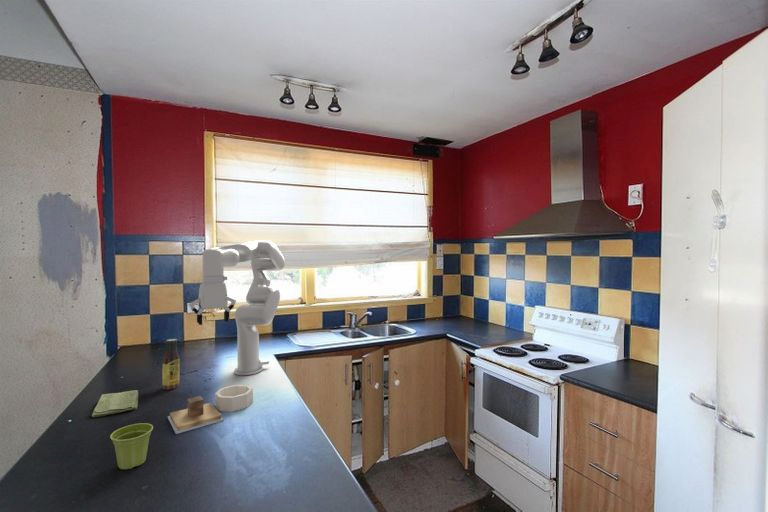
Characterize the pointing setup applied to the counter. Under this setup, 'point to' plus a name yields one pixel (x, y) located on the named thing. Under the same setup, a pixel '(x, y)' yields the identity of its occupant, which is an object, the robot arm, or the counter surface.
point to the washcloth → (116, 403)
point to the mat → (191, 427)
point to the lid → (195, 414)
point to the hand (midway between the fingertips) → (213, 322)
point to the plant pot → (131, 444)
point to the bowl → (233, 398)
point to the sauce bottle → (170, 366)
